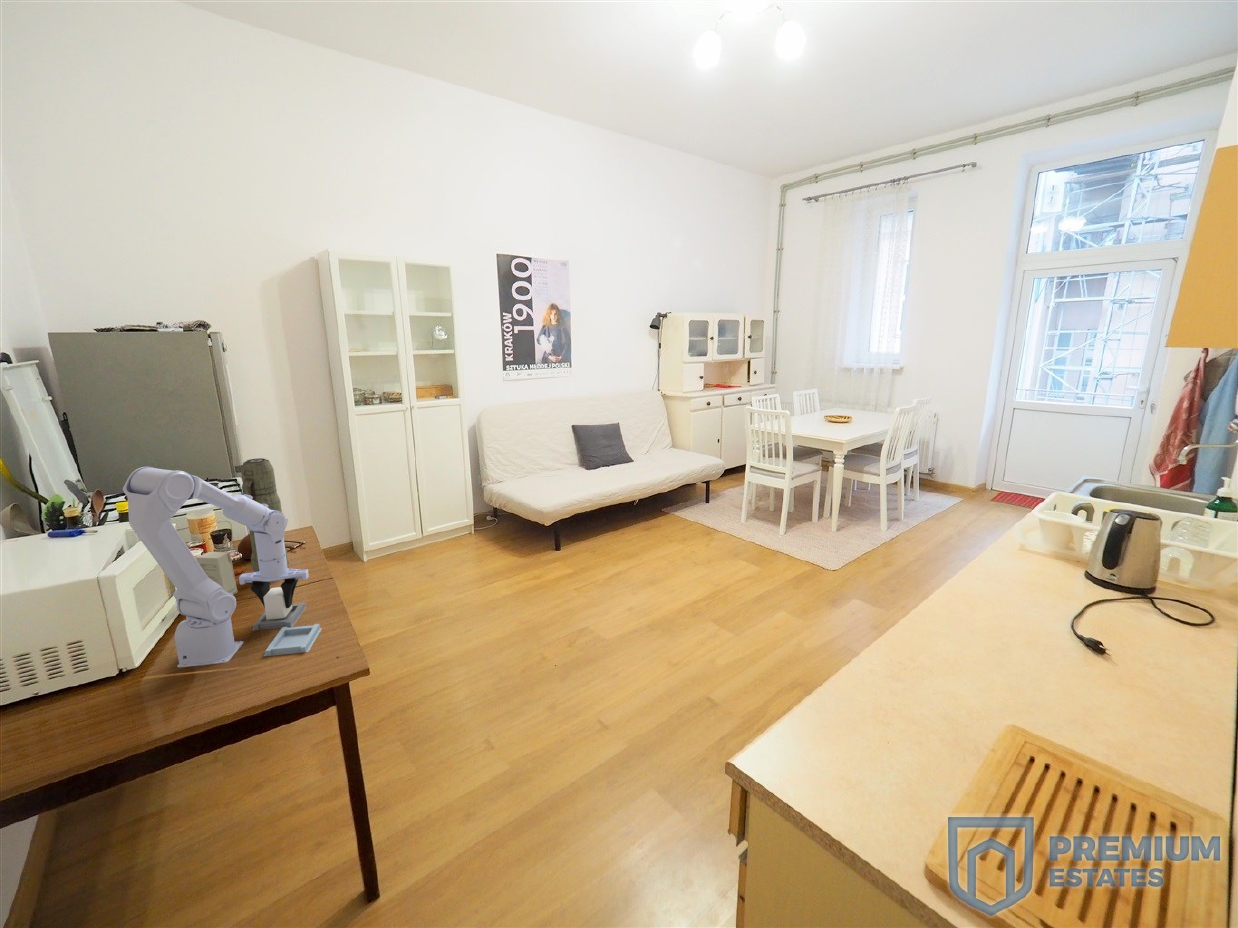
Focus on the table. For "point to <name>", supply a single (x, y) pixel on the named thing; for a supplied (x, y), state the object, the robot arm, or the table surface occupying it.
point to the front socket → (293, 640)
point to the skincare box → (219, 569)
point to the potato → (245, 547)
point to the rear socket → (281, 619)
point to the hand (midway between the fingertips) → (278, 607)
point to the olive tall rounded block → (260, 493)
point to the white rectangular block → (275, 604)
